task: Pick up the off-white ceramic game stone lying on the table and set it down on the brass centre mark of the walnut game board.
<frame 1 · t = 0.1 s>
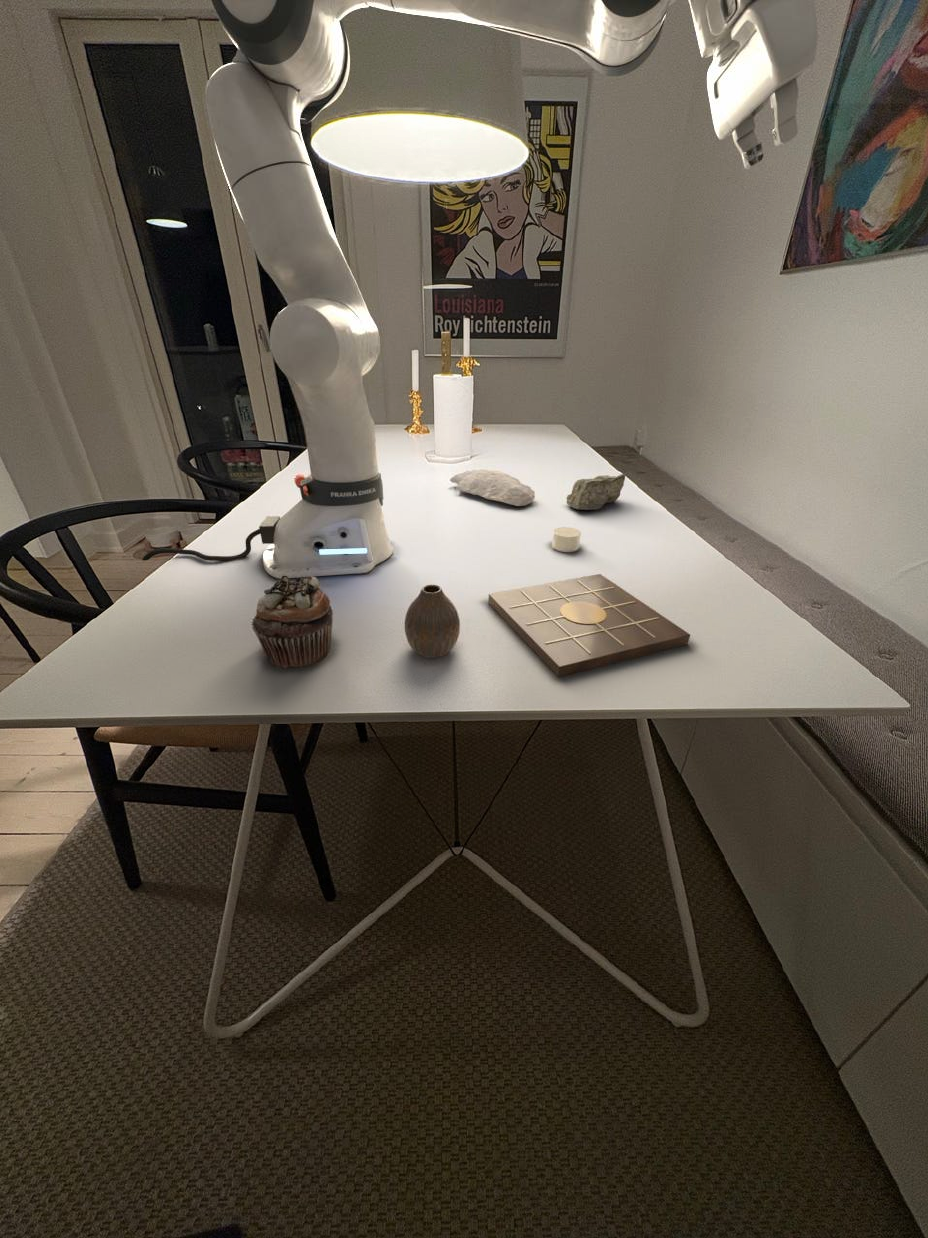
hand: (769, 154, 60), 54 cm above the table, tool tilted 30°, fingers open, 8 cm apart
game stone: (565, 546, 96), on the table
board: (581, 622, 72), on the table
vase: (432, 650, 66), on the table
rock: (592, 505, 119), on the table
cupcake: (299, 651, 65), on the table
stone: (493, 494, 126), on the table
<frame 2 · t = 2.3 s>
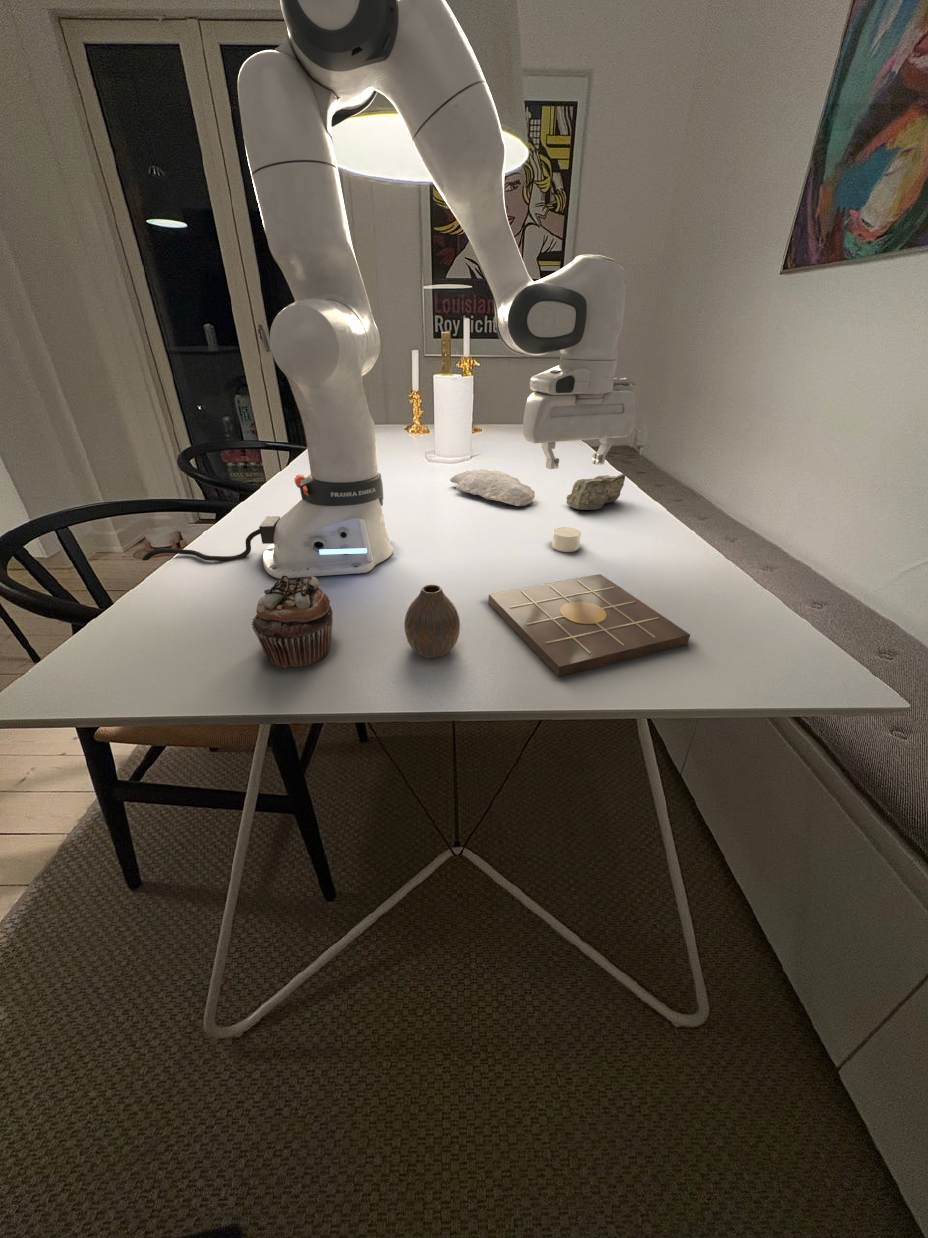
hand: (575, 466, 89), 15 cm above the table, tool pointing down, fingers open, 8 cm apart
nothing on the table moved.
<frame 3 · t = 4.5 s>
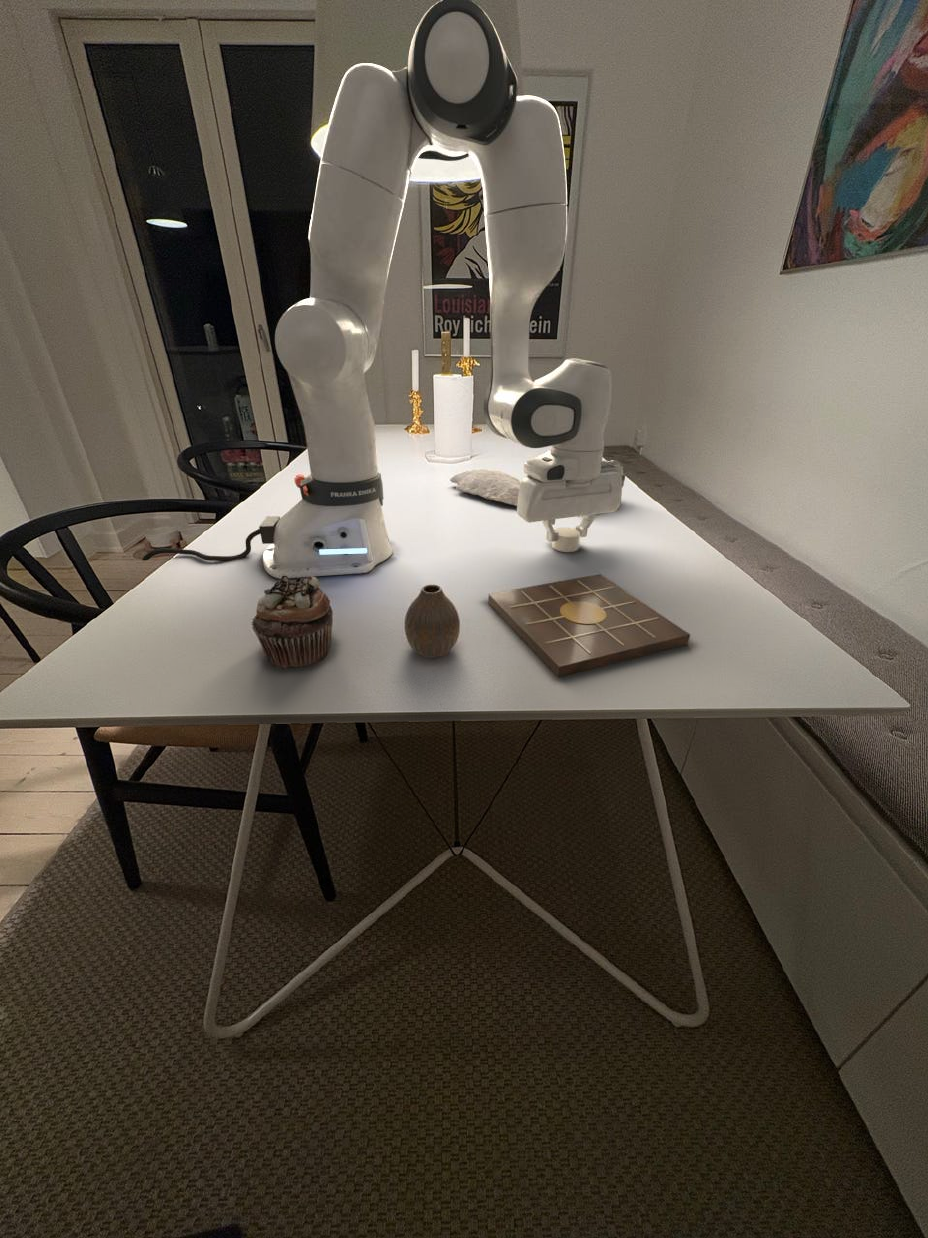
hand: (566, 538, 96), 2 cm above the table, tool pointing down, fingers closed on game stone, 5 cm apart
game stone: (565, 547, 96), on the table, touching gripper
everything else where it was.
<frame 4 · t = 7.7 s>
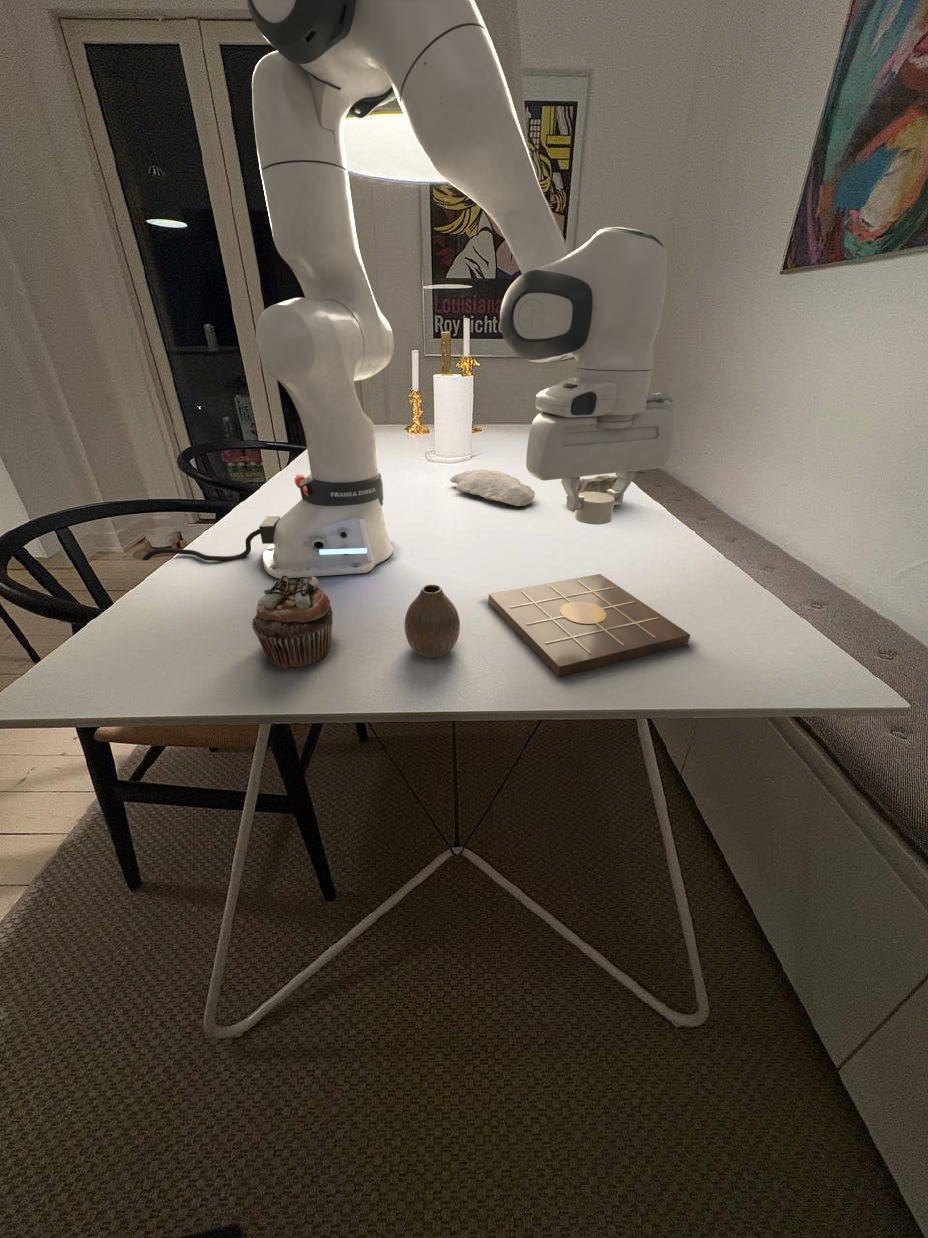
hand: (593, 506, 69), 15 cm above the table, tool pointing down, fingers closed on game stone, 5 cm apart
game stone: (592, 518, 70), point 14 cm above the table, touching gripper
everything else where it was.
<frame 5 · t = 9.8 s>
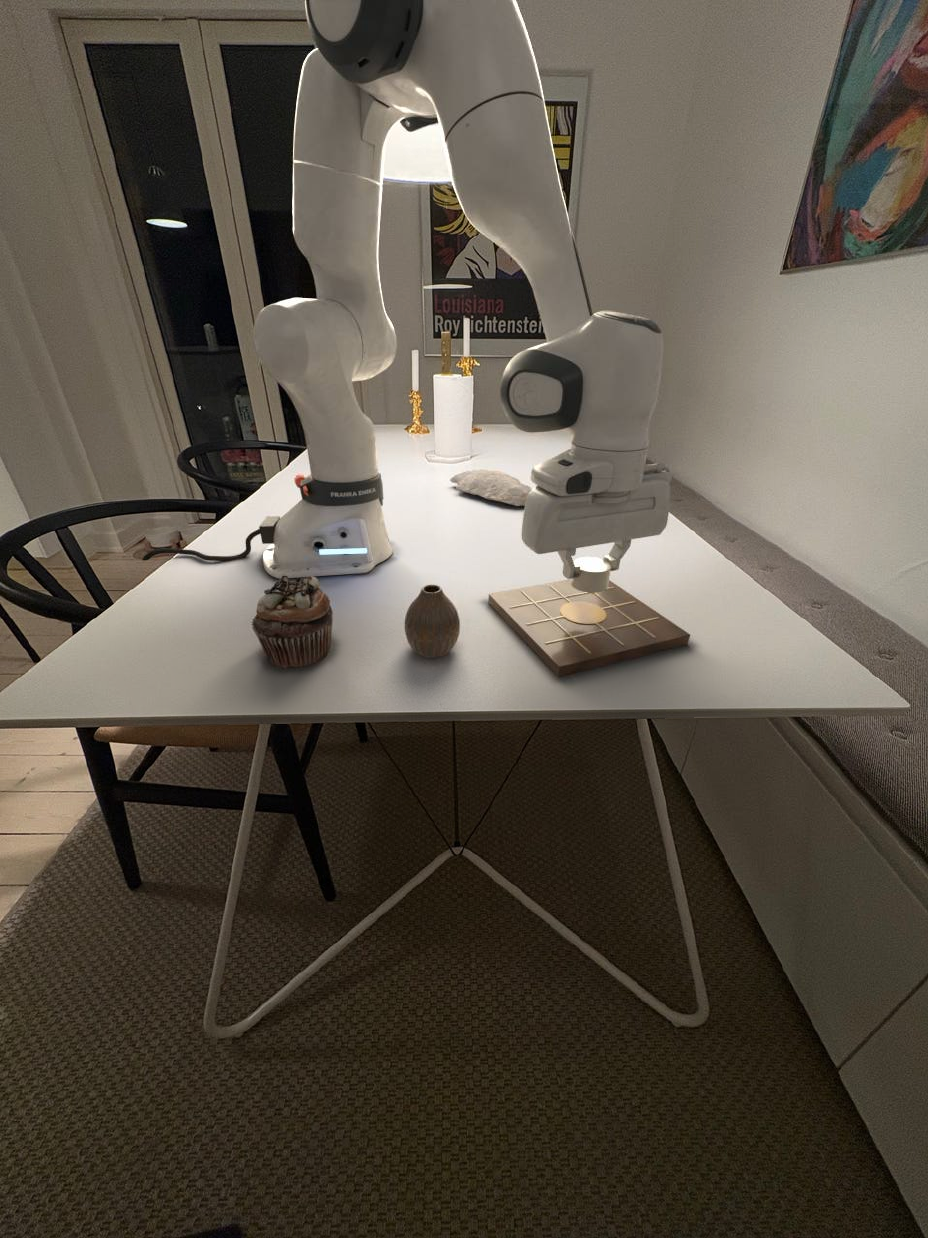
hand: (590, 573, 68), 8 cm above the table, tool pointing down, fingers closed on game stone, 5 cm apart
game stone: (589, 584, 69), point 6 cm above the table, touching gripper
everything else where it was.
when the fingers open (3 cm above the table, at t = 11.3 s): game stone stays where it is, resting on board.
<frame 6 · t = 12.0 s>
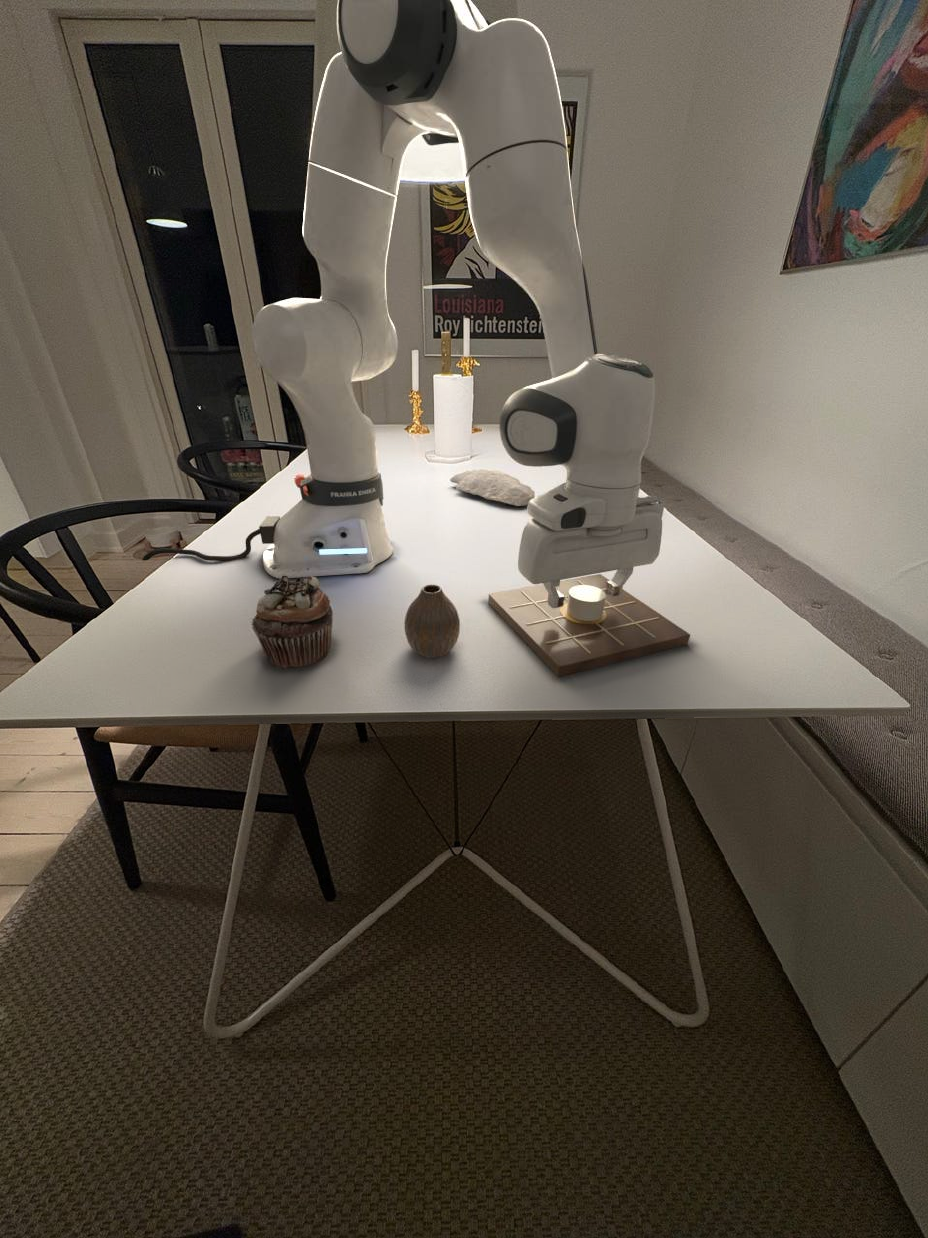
hand: (584, 600, 70), 4 cm above the table, tool pointing down, fingers open, 8 cm apart
game stone: (584, 612, 71), point 2 cm above the table, touching board
everything else where it was.
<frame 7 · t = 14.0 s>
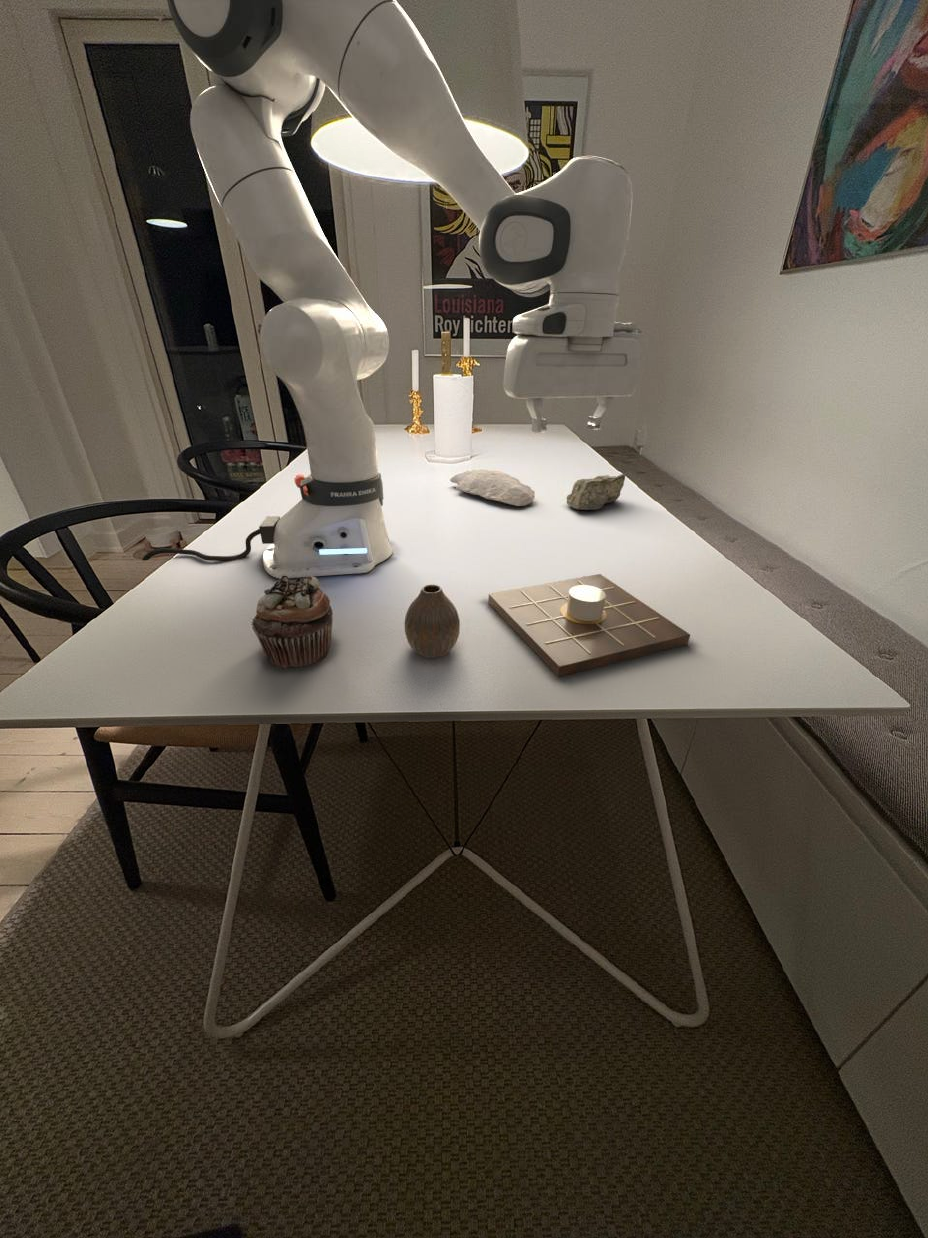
hand: (567, 430, 74), 23 cm above the table, tool pointing down, fingers open, 8 cm apart
nothing on the table moved.
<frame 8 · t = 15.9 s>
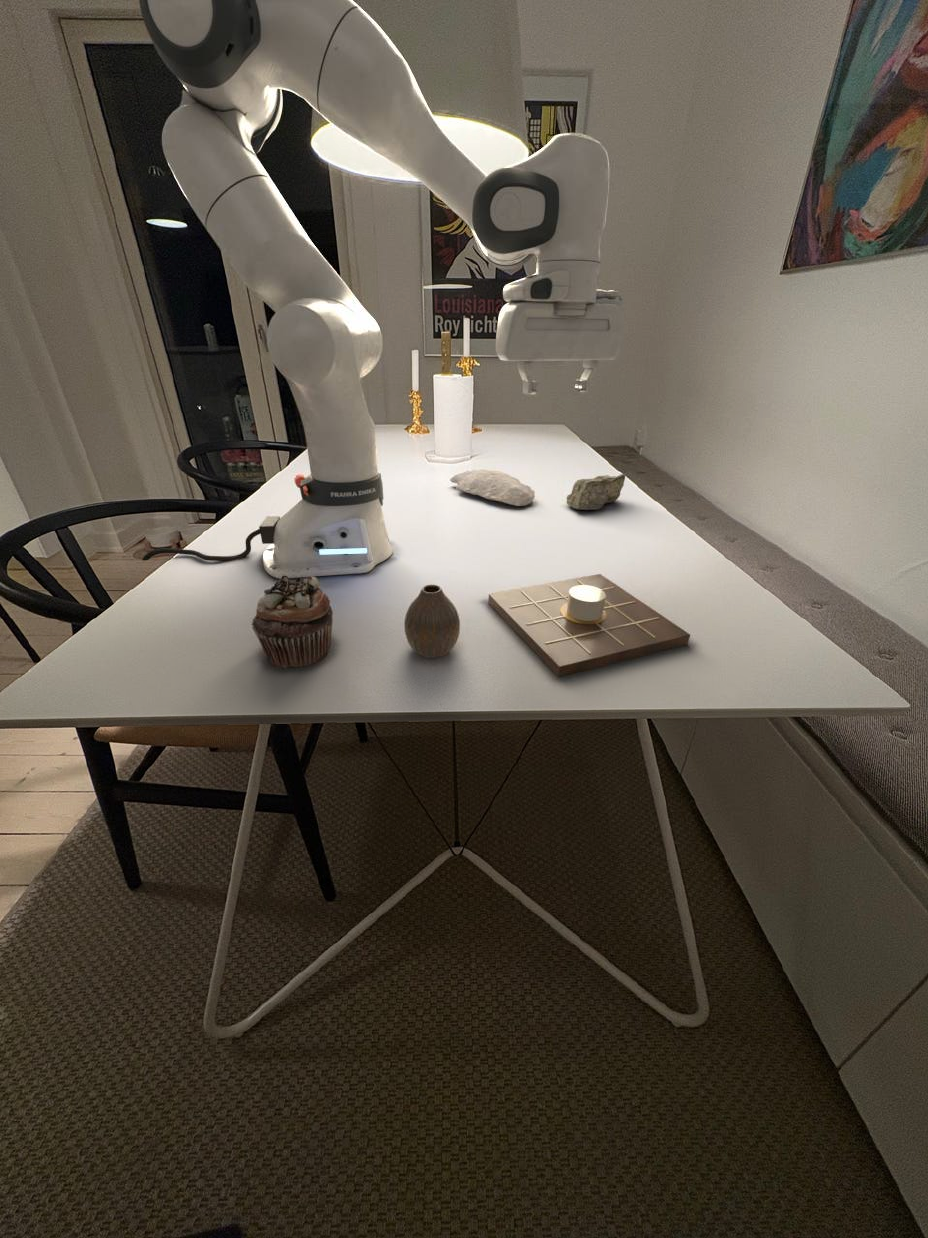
hand: (555, 393, 80), 27 cm above the table, tool pointing down, fingers open, 8 cm apart
nothing on the table moved.
at the end: game stone 0.2 cm off-centre on the board, point 1.6 cm above the board's base; game stone tilted 0°; the gripper is holding nothing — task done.
